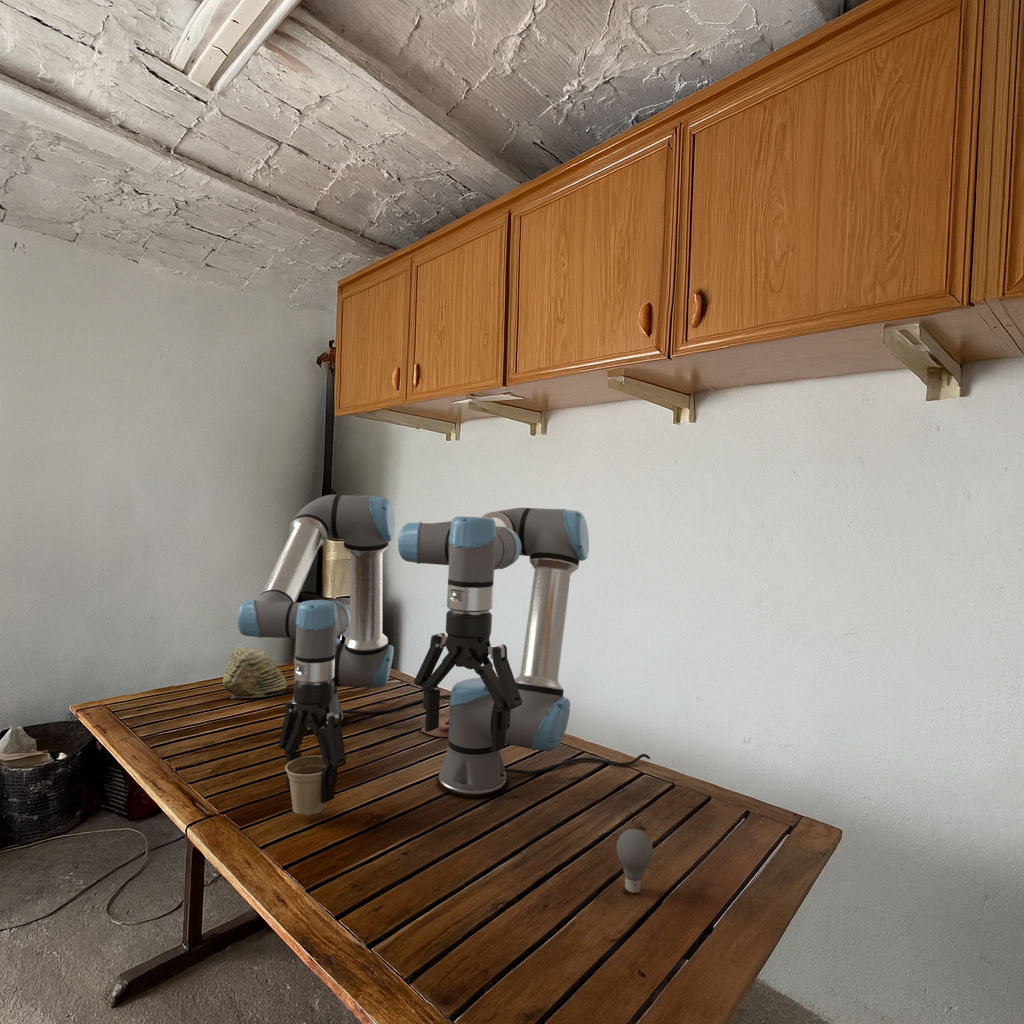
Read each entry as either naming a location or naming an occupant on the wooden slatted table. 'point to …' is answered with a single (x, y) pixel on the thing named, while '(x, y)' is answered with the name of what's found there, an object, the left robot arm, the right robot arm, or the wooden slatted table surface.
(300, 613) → the left robot arm
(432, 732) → the anatomical model
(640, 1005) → the wooden slatted table surface
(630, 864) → the light bulb
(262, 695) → the fossil
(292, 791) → the plastic plant pot
